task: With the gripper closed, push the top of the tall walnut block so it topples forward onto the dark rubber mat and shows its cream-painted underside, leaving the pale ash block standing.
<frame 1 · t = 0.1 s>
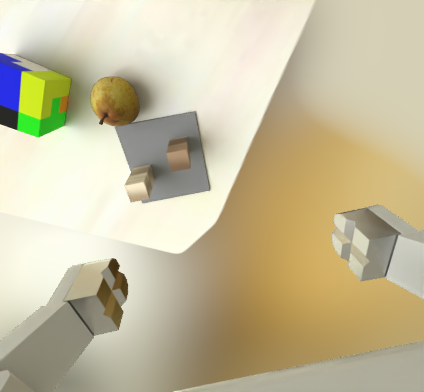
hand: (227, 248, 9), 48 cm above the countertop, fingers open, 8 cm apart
ash block: (144, 173, 57), resting on mat
walnut block: (179, 146, 54), resting on mat
mat: (166, 160, 56), on the countertop
puzzle toy: (41, 92, 47), on the countertop
fruit: (120, 99, 49), on the countertop
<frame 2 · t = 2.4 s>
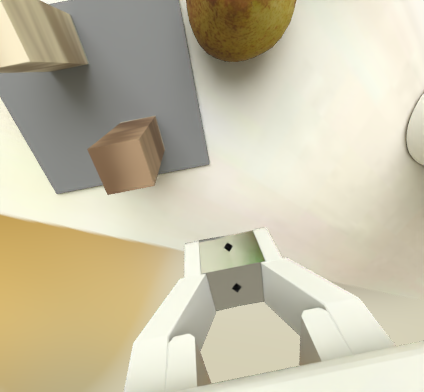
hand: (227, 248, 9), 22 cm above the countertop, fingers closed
ash block: (60, 44, 22), resting on mat
walnut block: (143, 136, 27), resting on mat
mat: (106, 105, 26), on the countertop
fruit: (232, 11, 23), on the countertop
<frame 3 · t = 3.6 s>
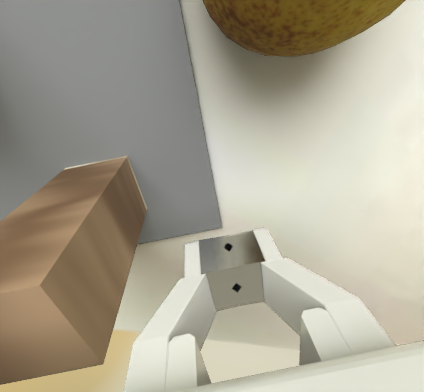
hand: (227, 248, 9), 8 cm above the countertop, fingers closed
walnut block: (108, 189, 16), resting on mat
mat: (36, 138, 14), on the countertop
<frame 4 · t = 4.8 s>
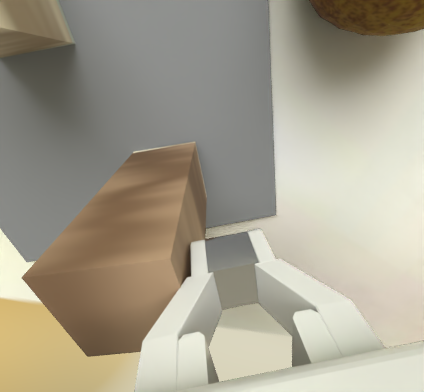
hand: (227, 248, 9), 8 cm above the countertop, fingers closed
ash block: (14, 1, 11), resting on mat
walnut block: (172, 175, 16), point 1 cm above the countertop, touching gripper, mat
mat: (108, 121, 14), on the countertop
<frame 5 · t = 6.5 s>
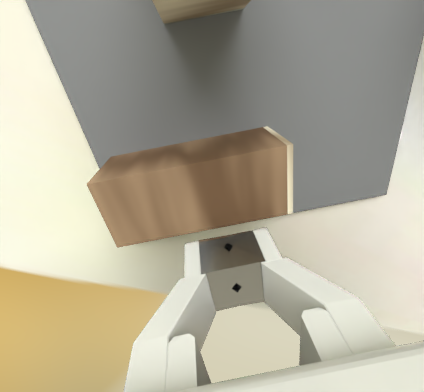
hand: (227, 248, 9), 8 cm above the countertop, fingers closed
walnut block: (279, 167, 14), point 2 cm above the countertop, tilted 90°, touching mat
mat: (248, 94, 14), on the countertop
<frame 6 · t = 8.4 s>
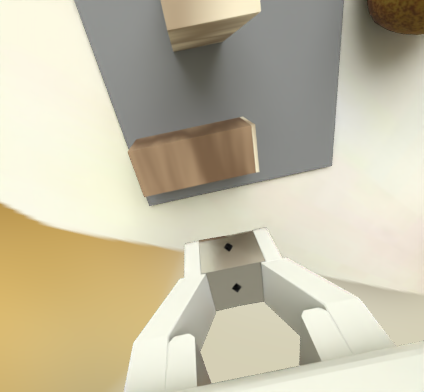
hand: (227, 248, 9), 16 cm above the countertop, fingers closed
ash block: (192, 16, 17), resting on mat
walnut block: (250, 143, 21), point 2 cm above the countertop, tilted 90°, touching mat
mat: (228, 95, 21), on the countertop
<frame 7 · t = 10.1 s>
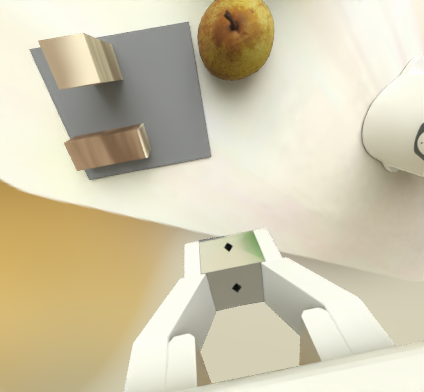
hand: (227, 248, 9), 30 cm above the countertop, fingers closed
ash block: (102, 65, 30), resting on mat
walnut block: (145, 140, 33), point 2 cm above the countertop, tilted 90°, touching mat
mat: (133, 110, 34), on the countertop
fruit: (229, 43, 31), on the countertop
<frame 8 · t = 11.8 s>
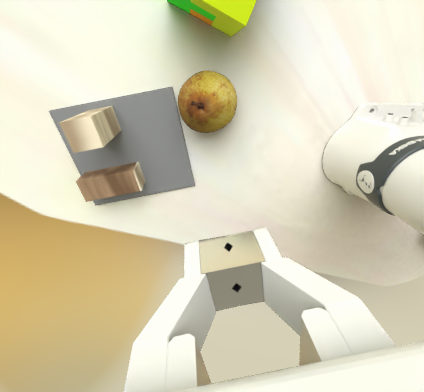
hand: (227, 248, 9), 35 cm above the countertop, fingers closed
ash block: (105, 120, 38), resting on mat
walnut block: (140, 175, 41), point 2 cm above the countertop, tilted 90°, touching mat
mat: (130, 151, 42), on the countertop
fruit: (205, 100, 39), on the countertop
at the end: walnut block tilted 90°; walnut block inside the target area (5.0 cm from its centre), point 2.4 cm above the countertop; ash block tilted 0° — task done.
